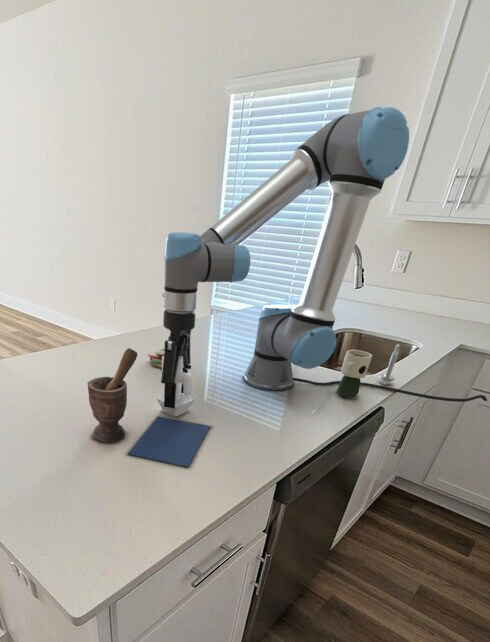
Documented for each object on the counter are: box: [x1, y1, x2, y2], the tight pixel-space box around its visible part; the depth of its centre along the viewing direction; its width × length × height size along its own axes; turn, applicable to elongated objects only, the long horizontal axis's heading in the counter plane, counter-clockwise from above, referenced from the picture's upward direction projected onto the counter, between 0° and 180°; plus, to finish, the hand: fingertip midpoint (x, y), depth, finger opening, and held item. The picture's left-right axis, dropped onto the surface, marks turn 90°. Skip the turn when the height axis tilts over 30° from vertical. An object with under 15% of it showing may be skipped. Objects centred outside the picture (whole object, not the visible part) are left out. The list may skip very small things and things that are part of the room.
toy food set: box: [147, 347, 165, 369], centre depth 139 cm, size 13×13×3 cm
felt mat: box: [127, 416, 211, 468], centre depth 96 cm, size 14×20×1 cm
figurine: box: [156, 356, 195, 418], centre depth 105 cm, size 7×9×15 cm
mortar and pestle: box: [86, 347, 138, 443], centre depth 92 cm, size 12×9×20 cm
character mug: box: [336, 349, 373, 399], centre depth 120 cm, size 11×7×13 cm, turn 136°
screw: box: [378, 343, 401, 386], centre depth 130 cm, size 13×5×5 cm
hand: (175, 399), depth 107 cm, fingers closed on figurine, 9 cm apart
